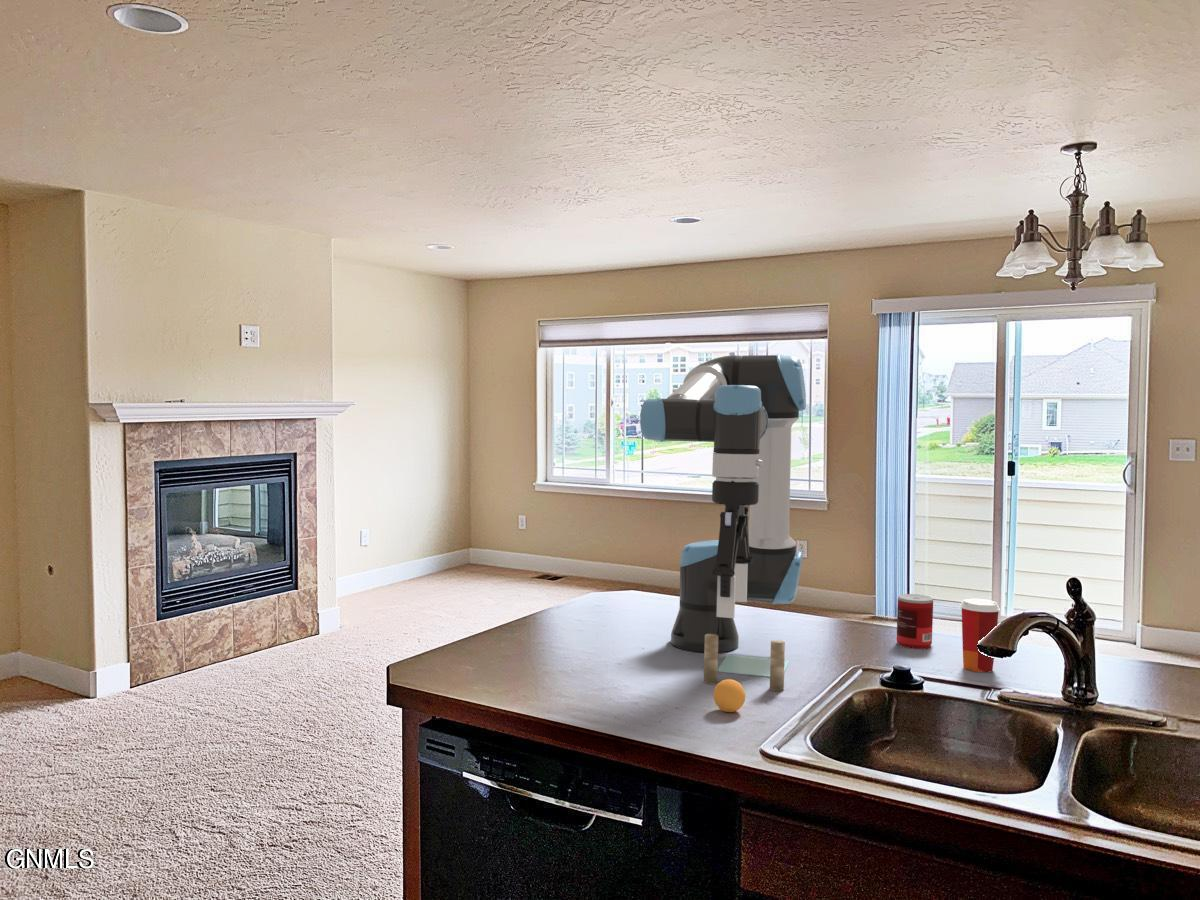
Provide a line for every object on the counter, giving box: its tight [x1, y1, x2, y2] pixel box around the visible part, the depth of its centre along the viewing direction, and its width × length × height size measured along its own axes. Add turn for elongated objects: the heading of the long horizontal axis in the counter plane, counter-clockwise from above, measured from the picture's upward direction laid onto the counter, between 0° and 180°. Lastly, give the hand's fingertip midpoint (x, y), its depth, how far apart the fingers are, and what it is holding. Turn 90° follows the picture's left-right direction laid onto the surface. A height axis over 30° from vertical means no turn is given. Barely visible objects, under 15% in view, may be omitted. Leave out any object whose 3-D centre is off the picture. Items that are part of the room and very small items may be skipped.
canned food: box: [896, 593, 934, 650], centre depth 202 cm, size 8×8×11 cm
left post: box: [703, 634, 719, 685], centre depth 170 cm, size 3×3×9 cm
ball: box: [712, 678, 746, 713], centre depth 153 cm, size 6×6×6 cm
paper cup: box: [958, 598, 1001, 673], centre depth 183 cm, size 8×8×14 cm
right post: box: [769, 639, 786, 692], centre depth 167 cm, size 3×3×9 cm
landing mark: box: [717, 654, 790, 678], centre depth 182 cm, size 13×13×1 cm
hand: (732, 609), depth 145 cm, fingers open, 13 cm apart
